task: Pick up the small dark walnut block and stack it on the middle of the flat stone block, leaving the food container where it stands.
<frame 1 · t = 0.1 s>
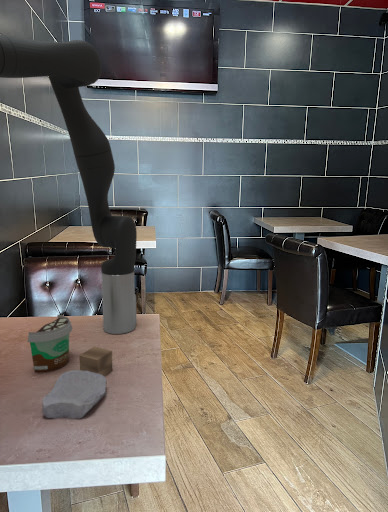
stone block: (79, 403, 71), on the table
walnut block: (96, 373, 82), on the table
food container: (58, 365, 86), on the table
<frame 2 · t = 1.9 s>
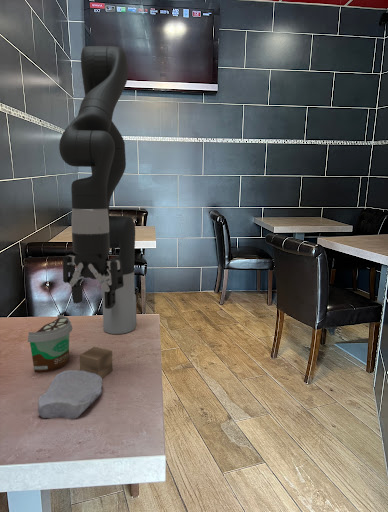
hand: (93, 305, 79), 16 cm above the table, tool pointing down, fingers open, 8 cm apart
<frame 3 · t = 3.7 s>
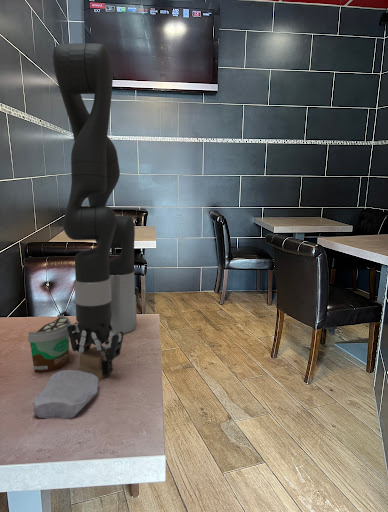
hand: (96, 371, 82), 0 cm above the table, tool pointing down, fingers closed on walnut block, 5 cm apart
walnut block: (96, 373, 82), on the table, touching gripper
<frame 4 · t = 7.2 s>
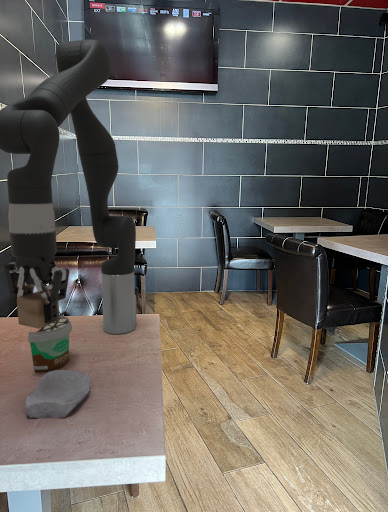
hand: (39, 319, 68), 17 cm above the table, tool pointing down, fingers closed on walnut block, 5 cm apart
stone block: (62, 402, 72), on the table
walnut block: (39, 321, 68), point 16 cm above the table, touching gripper
everything else where it was.
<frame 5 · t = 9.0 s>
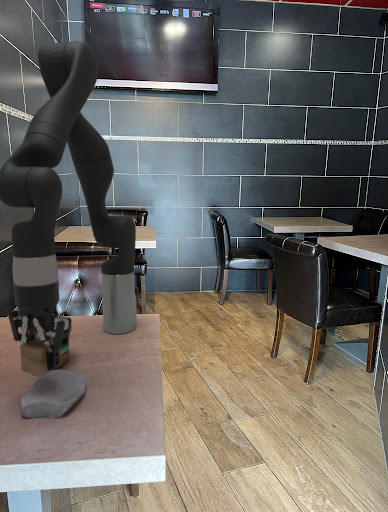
hand: (42, 365, 70), 8 cm above the table, tool pointing down, fingers closed on walnut block, 5 cm apart
walnut block: (42, 367, 70), point 7 cm above the table, touching gripper
when the fingers open (5 cm above the table, at t = 10.5 s): walnut block drops 1 cm, resting on stone block.
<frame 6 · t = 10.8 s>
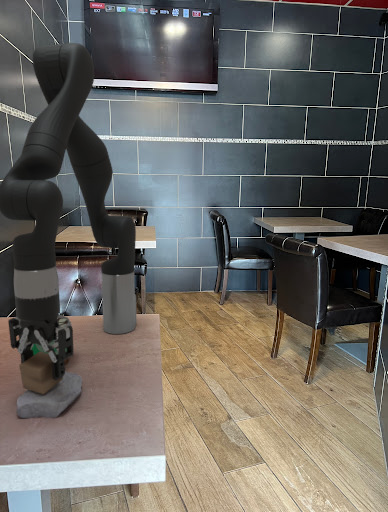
hand: (43, 373, 70), 6 cm above the table, tool pointing down, fingers open, 7 cm apart
stone block: (54, 403, 72), on the table, touching walnut block
walnut block: (43, 383, 70), point 4 cm above the table, tilted 6°, touching stone block
everything else where it was.
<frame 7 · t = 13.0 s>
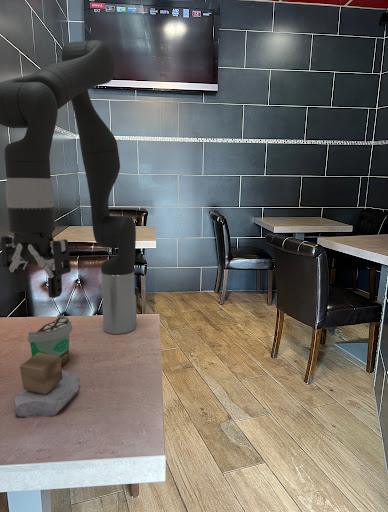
hand: (37, 293, 67), 22 cm above the table, tool pointing down, fingers open, 8 cm apart
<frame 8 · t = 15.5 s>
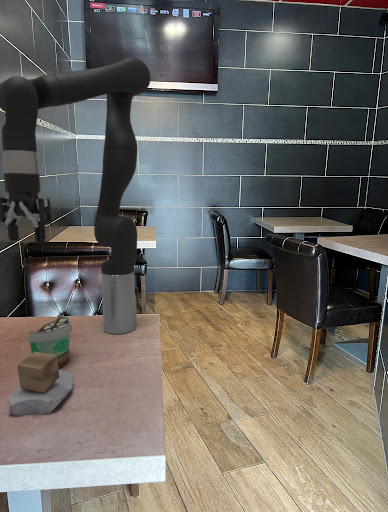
hand: (26, 241, 87), 28 cm above the table, tool pointing down, fingers open, 8 cm apart
stone block: (46, 400, 72), on the table, touching walnut block
at the end: walnut block inside the target area on the stone block (1.1 cm from its centre), point 4.4 cm above the stone block's base; walnut block tilted 5°; the gripper is holding nothing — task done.
